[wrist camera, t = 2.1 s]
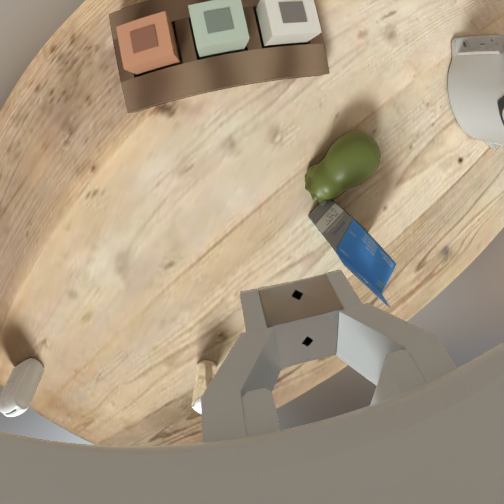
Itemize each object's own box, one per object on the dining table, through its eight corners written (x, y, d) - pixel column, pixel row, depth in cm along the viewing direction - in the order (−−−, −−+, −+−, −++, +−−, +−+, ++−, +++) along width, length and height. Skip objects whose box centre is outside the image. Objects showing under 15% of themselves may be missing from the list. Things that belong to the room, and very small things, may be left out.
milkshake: (204, 350, 45) (204, 401, 36) (226, 366, 47) (230, 416, 39) (183, 362, 46) (180, 412, 37) (205, 378, 48) (206, 426, 39)
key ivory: (298, 5, 23) (311, -9, 19) (306, 42, 25) (322, 32, 21) (255, 8, 23) (262, -7, 19) (264, 46, 25) (272, 35, 21)
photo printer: (26, 379, 46) (7, 423, 35) (12, 366, 44) (-9, 410, 33) (48, 368, 45) (28, 418, 34) (32, 354, 43) (9, 402, 32)
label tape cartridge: (368, 235, 39) (416, 283, 28) (348, 255, 40) (390, 308, 30) (326, 193, 36) (372, 233, 25) (305, 216, 37) (342, 265, 26)
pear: (396, 164, 29) (330, 221, 34) (378, 150, 34) (321, 201, 38) (366, 126, 27) (297, 188, 31) (351, 117, 32) (291, 172, 36)
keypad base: (300, -14, 24) (307, -23, 21) (320, 75, 29) (329, 73, 27) (117, 20, 23) (108, 14, 21) (135, 112, 29) (127, 112, 26)
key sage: (236, 11, 23) (240, -5, 19) (244, 48, 25) (249, 38, 21) (191, 19, 23) (187, 4, 19) (199, 57, 25) (196, 48, 21)
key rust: (172, 24, 23) (164, 10, 19) (179, 61, 25) (173, 53, 21) (129, 37, 23) (115, 26, 18) (137, 74, 25) (123, 69, 21)
